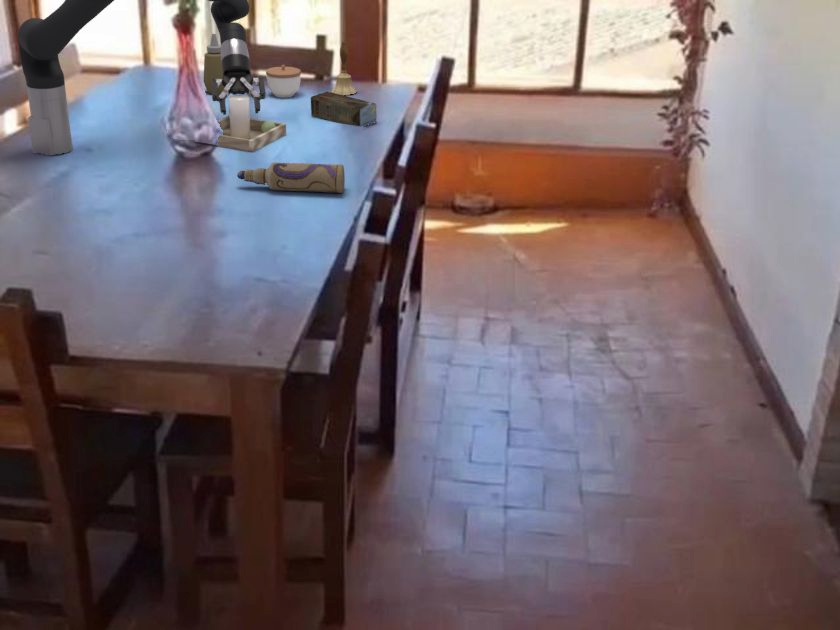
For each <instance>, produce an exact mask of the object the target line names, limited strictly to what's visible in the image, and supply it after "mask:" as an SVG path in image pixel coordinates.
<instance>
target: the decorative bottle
mask: <svg viewBox="0 0 840 630" xmlns="http://www.w3.org/2000/svg"><path fill="white" fill-rule="evenodd" d="M236 174H237V175H236V176H237V178H238V179H240V180H243V181H244V182H248V183H249V182H250V183H253V184H254V183H255V184H256V185H263V186H265V185H266V186H268V188H269V189H270V190H273V191H280V192H281V191H289V192H310V193H311V192H313V193H315V192H316V193H317V192H319V193H320V192H321V193H335V194H336V193H338V194H343V193H344V192H345V191H344V189H345V181H346V179H345V167H344V165H343V164H331V163H330V164H329V163H328V164H327V163H310V162H309V163H308V162H307V163H306V162H305V163H303V162H301V163H300V162H299V163H298V162H291V163H290V162H272V163H270V165H269V167H268V168H265V167H263V168H262V167H259V168H256V169H245V170H240V171H238V172H237V173H236Z"/></svg>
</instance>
